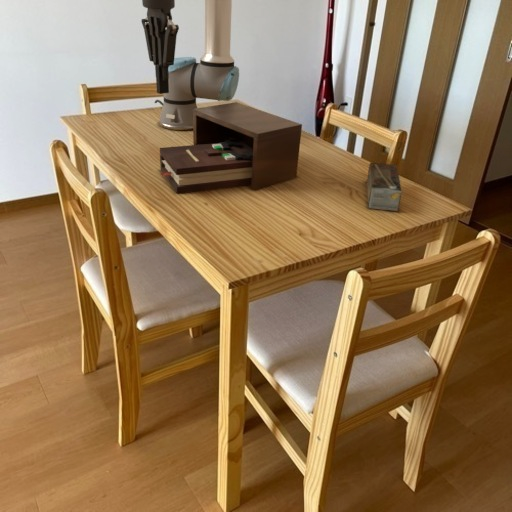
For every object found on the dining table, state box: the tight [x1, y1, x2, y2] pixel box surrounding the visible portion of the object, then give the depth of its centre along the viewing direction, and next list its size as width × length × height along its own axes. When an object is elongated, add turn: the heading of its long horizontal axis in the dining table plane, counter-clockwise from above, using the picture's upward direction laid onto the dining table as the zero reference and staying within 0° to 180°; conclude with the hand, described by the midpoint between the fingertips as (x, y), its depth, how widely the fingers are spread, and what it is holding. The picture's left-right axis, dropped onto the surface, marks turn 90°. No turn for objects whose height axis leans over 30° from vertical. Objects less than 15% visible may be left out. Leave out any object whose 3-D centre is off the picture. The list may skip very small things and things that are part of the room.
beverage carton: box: [366, 162, 402, 212], centre depth 131 cm, size 8×19×7 cm, turn 170°
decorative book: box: [159, 138, 253, 194], centre depth 135 cm, size 19×8×30 cm
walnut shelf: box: [192, 101, 303, 191], centre depth 140 cm, size 28×16×16 cm, turn 42°
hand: (162, 92), depth 125 cm, fingers closed
